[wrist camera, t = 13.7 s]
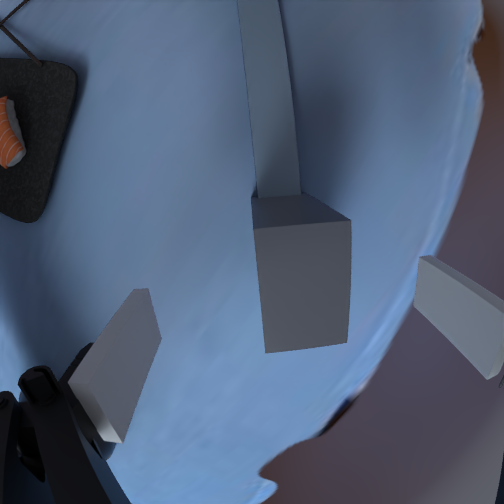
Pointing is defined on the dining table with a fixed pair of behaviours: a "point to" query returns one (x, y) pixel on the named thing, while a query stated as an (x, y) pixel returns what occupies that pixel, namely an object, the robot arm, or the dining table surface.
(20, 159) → the sushi plate
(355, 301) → the dining table surface
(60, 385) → the robot arm
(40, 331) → the dining table surface
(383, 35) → the dining table surface
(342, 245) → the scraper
